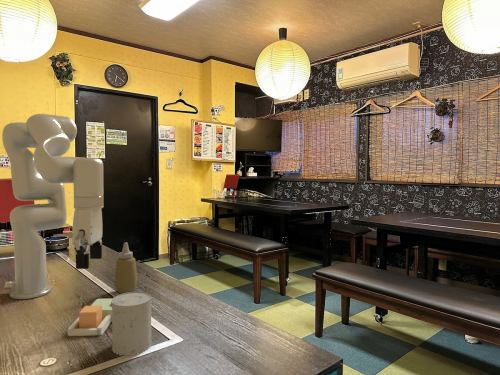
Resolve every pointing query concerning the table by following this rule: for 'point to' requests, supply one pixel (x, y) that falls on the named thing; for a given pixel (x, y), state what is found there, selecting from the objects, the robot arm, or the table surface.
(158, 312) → the table surface
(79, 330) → the green plate with dome
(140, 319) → the speckled stone cylinder
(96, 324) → the matte orange cube
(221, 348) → the table surface
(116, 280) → the squeeze bottle
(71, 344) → the table surface
